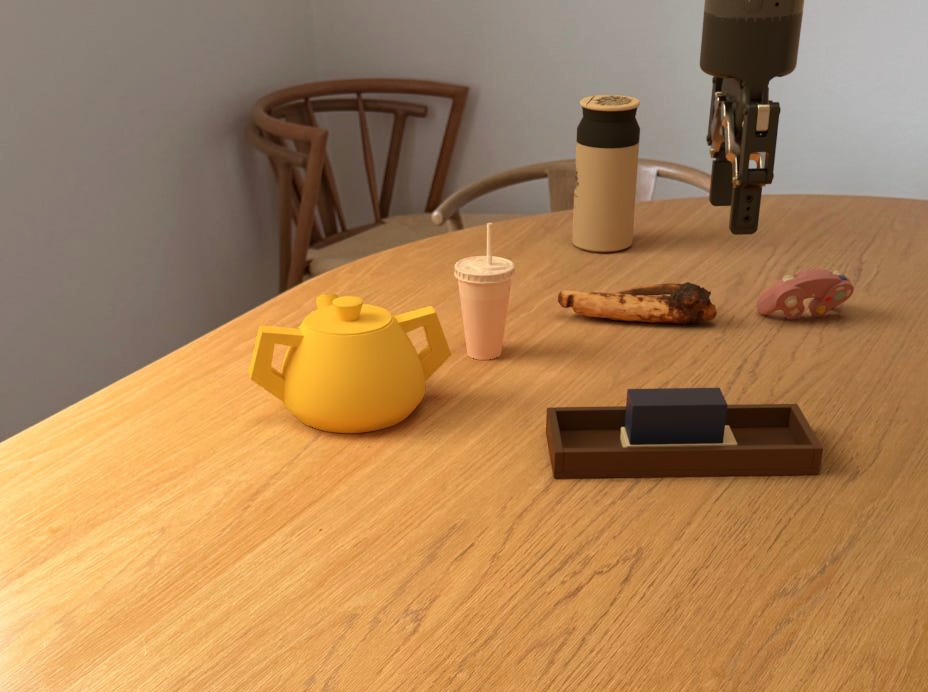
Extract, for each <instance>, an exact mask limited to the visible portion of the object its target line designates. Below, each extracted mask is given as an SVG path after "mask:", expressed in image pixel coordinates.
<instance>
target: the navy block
mask: <svg viewBox="0 0 928 692" xmlns="http://www.w3.org/2000/svg"><path fill="white" fill-rule="evenodd" d="M625 402H626V403H625V406H626V414H625V427H621V436H620V439H621V442H622V446H623V447H685V446H737V442H736V440H735V438H734V436H733V433H732V431H731V429H730V427H729V425H725V422H726V414H727V406H728V405H729V404H728V402H727V400H726V398H725V396H724V394H723V392H722V390H721V388H720V387H673V388H672V387H667V388H665V387H664V388H663V387H662V388H660V387H659V388H627V389H626V401H625Z"/></svg>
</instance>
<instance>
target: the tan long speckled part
mask: <svg viewBox="0 0 928 692" xmlns="http://www.w3.org/2000/svg"><path fill="white" fill-rule="evenodd" d="M711 294H712V291H709V290H707V289H706V288H705V287H703V286H702V287H701V286H700V285H698V284H695V283H692V282H688V281H686V282H683V283H658V284H650V285H642V286H636V287H630V288H627V289H623V290H620V291H616V292H611V293H610V292H609V293H607V292H602V291H598V292H597V291H591V292H588V291H576V290H568V289H567V290H566V289H565V290H560V291H559V293H558V295H557V303H558V304H559V305H560V306H561V308H564V309H569V308H572V310H573V312H574V313H576V314H579V315H582V316H584V317H590V318H591V317H592V318H606V319H610V320H612V321H624V322H641V323H642V322H646V323H651V324H657V323H658V324H659V323H661V324H662V323H668V324H669V323H673V324H674V323H675V324H679V325H681V324H684V325H687V324H691V323H692V324H694V323H696V324H697V323H699V322H711V321H713V320H714V319H716V317H717V314H718V312H717V308H716V305H715V304H713V303H712V302H711V301H712V300H711V299H710V297H711Z"/></svg>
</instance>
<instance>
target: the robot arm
mask: <svg viewBox="0 0 928 692" xmlns="http://www.w3.org/2000/svg"><path fill="white" fill-rule="evenodd" d="M804 5H805V0H704V6H703V18H702V29H701V30H702V31H701V42H700V43H701V44H700V55H699V67H700V70H701V71H702V72H703V73H705V74H706V75H708V76H712V78H711V82H712V87H711V97H710V108H709V117H708V118H709V119H708V128H707V135H706V137H705V139H706V140H705V141H706V143H707V146H708V147H710V148H709V155H710V159H713V160H712V161H711V173H710V174H711V175H710V184H709V196H708V201H709V203H710V204H711V205H712V206H713V207H730V210H729V211H730V212H729V221H728V230H729V231H730V232H731V234H732V235H734V236H740V235H741V236H743V235H747V236H748V235H754V234H756V232H757V231H758V228H759V219H760V211H761V203H762V202H761V201H762V193H763V188H765V187H766V185H772V183H773V180H774V178H775V173H774V169H775V160H776V151H777V142H778V132H779V122H780V115H781V106H780V102H779V101H773V100H772V99H770V96H769V95H770V88H769V85H770V82H771V81H772V80H773V79H774V78H782V77H786V76H788V75H790V74H792V73H793V72H794V71H795V69H796V67H797V64H798V56H799V55H798V54H799V48H800V41H801V32H802V23H803V16H804V7H805V6H804ZM750 161H754V162H755V163H756V164H755V165H756V168H755V167H754V168H753V167H751V168H750Z"/></svg>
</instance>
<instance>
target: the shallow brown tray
mask: <svg viewBox="0 0 928 692" xmlns="http://www.w3.org/2000/svg"><path fill="white" fill-rule="evenodd" d="M625 414H626V405H618V406H617V405H615V406H614V405H613V406H612V405H610V406H608V405H607V406H556V407H554V406H553V407H546V414H545V415H546V416H545V419H546V421H545V435H546V440H547V447H548V453H549V458H550V464H551V471H552V476H553V479H603V478H604V479H606V478H607V479H609V478H611V479H613V478H614V479H615V478H674V477H675V478H676V477H677V478H678V477H682V478H685V477H687V478H688V477H744V476H745V477H746V476H747V477H750V476H812V475H813V476H814V475H815V476H818V475H820V471H821V469H820V468H821V464H822V458H823V452H824V447H823V445H822V444H821V442H820V440H819V439H818V437H817V435H816V433H815V431H814V430H813V428H812V426H811V425H810V423H809V420H807V418H806V416H805V415H804V413H803V410H802V409H801V407H800V406H799V404H798V403H763V404H762V403H760V404H759V403H756V404H755V403H754V404H749V403H748V404H747V403H746V404H728V406H727V414H726V422H725V425H729V427H730V429H731V431H732V433H733V436H734V438H735V440H736V442H737V446H685V447H623V446H622V442H621V439H620V436H621V427H625Z"/></svg>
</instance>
